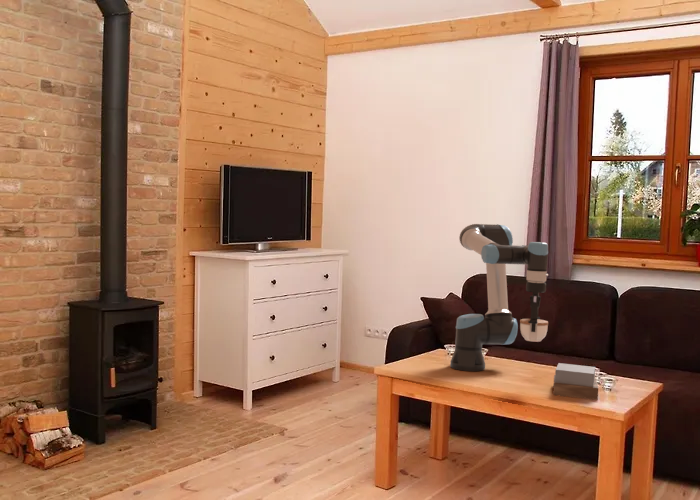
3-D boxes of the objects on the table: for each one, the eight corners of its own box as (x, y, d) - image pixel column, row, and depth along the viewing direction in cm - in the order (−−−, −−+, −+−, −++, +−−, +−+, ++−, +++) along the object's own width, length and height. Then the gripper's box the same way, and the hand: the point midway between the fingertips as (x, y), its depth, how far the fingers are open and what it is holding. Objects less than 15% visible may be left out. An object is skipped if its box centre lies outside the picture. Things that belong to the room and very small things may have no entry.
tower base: (553, 387, 296) (554, 375, 296) (595, 391, 292) (596, 379, 292) (553, 396, 281) (554, 383, 281) (597, 401, 277) (598, 388, 277)
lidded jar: (526, 336, 296) (528, 313, 296) (551, 340, 289) (553, 317, 289) (514, 339, 288) (515, 316, 288) (539, 343, 281) (540, 319, 281)
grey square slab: (557, 375, 296) (558, 363, 296) (594, 379, 291) (595, 367, 291) (554, 382, 283) (555, 369, 282) (593, 387, 278) (594, 373, 278)
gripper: (545, 284, 276) (542, 343, 277) (546, 280, 298) (543, 334, 299) (525, 283, 278) (522, 341, 279) (527, 278, 300) (524, 332, 301)
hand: (533, 337), depth 289 cm, fingers closed on lidded jar, 11 cm apart
